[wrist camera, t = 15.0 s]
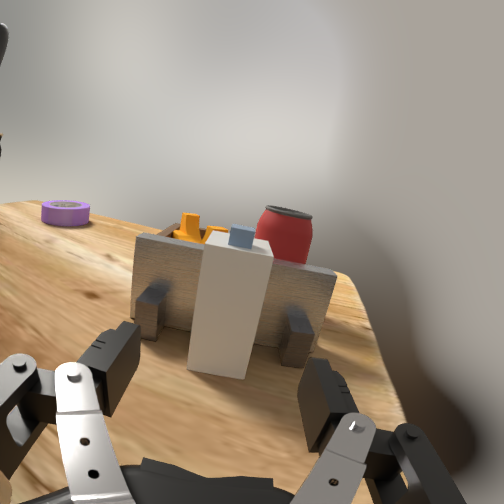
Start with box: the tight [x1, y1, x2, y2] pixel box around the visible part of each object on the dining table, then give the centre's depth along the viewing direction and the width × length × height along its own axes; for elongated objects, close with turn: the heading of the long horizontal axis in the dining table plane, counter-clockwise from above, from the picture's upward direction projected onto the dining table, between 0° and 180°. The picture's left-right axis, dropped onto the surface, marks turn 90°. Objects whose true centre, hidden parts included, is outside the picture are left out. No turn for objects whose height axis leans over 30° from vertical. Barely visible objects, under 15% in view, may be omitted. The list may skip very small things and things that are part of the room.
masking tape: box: [41, 200, 90, 226], centre depth 55 cm, size 12×12×4 cm
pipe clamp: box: [172, 213, 228, 245], centre depth 48 cm, size 12×4×6 cm, turn 35°
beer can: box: [255, 205, 312, 264], centre depth 36 cm, size 7×7×12 cm
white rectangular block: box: [187, 224, 274, 380], centre depth 22 cm, size 5×5×11 cm
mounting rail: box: [130, 233, 337, 368], centre depth 27 cm, size 18×8×8 cm, turn 91°
